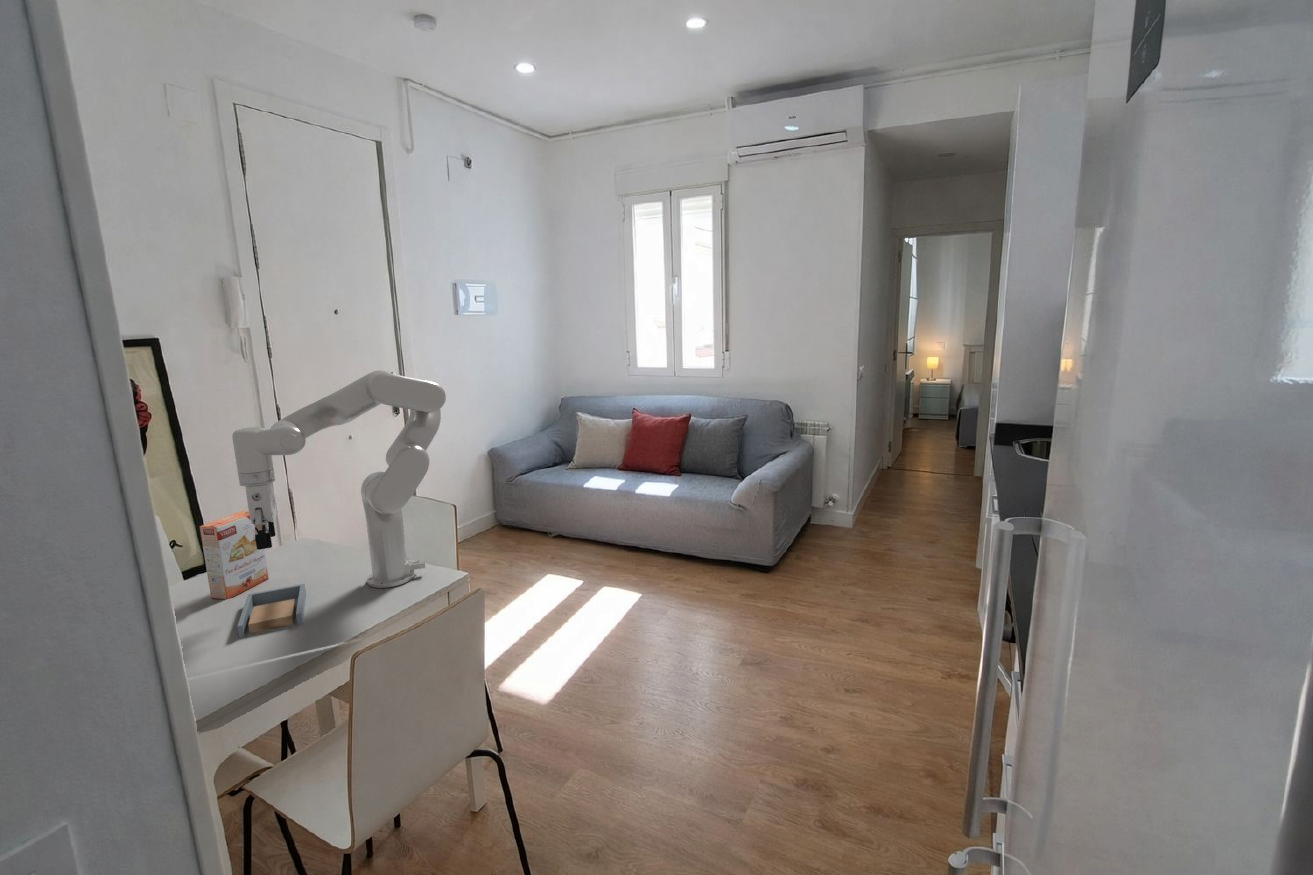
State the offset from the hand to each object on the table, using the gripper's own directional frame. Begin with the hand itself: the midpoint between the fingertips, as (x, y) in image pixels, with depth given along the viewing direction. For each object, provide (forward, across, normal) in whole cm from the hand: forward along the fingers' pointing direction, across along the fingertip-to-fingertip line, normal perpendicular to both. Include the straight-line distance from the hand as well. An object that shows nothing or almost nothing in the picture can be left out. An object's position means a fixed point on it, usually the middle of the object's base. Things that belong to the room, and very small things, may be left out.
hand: (266, 542), depth 156 cm
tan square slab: (+18, -8, 0) cm, 20 cm away
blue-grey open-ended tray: (+18, -5, 0) cm, 19 cm away
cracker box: (+18, +18, +10) cm, 28 cm away
